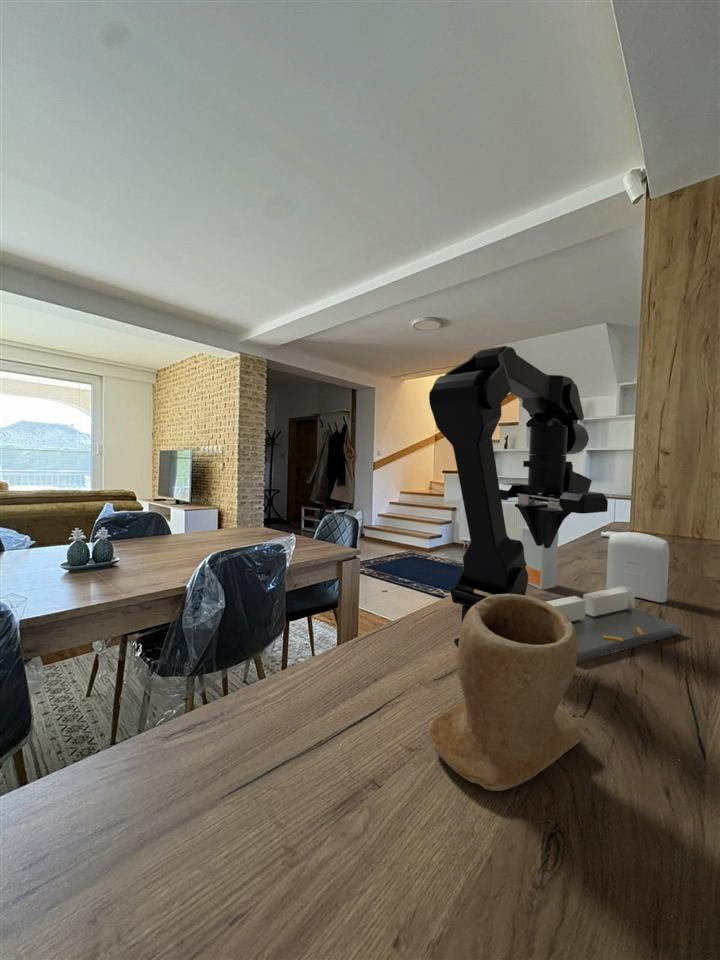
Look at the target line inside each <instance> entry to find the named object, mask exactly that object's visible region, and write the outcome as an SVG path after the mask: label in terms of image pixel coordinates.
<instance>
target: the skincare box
mask: <svg viewBox="0 0 720 960" xmlns="http://www.w3.org/2000/svg"><path fill="white" fill-rule="evenodd" d="M521 542H522V544H523V546H524V557H525V561H526V563H527V566H525V568H526V571H527V573H528V584H527V585H530V586H532V587H534V588H537V589H539V590H543V591H544V590H548V589H552V588H556V586H557V583H556V582H557V568H558V565H557V564H558V563H557V562H558V548H559V547H558V546H559V545H558V544H559V531H558V532H557V534H556V536H555V538H554V541H553V543H552V545H551V547H550V548H544V545H542V546H537V545H536V543H535V541H534V539H533V537H532V534H531V532H530V530H529V528H528V526H527V525H526V526H522V527H521Z"/></svg>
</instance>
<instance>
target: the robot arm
mask: <svg viewBox="0 0 720 960" xmlns="http://www.w3.org/2000/svg"><path fill="white" fill-rule="evenodd" d="M509 394H511V395H513V396H515V397H517V398H519V399H521V407H522V409H524V410H525V411H527V413H528V415H529V417H530V418H529V419H528V420H527V422H526V424H525V426H526V427H527V428H529V447H528V448H529V450H528V454H529V455H528V456H529V457H528V460H523V461H522V462H523V463H522V466H523V467H524V468H528V470H527V471H528V473H527V475H528V477H527V483H521V482H510V483H499V477H498V471H497V464H496V457H495V452H494V451H495V450H494V445H493V435H494V433H495V431H496V429H497V427H498V424H499V422H500V420H501V418H502V402H503V401H505V399H506V398H507V397H508V395H509ZM428 400H429V406H430V410H431V413H432V416H433V419H434V422H435V425H436V428H437V430H438V431H439V432H440V433H441V434H442V435H443V437H444V438H446V440H447V441H448V442H449V443H450V444H451V446H452V449H453V454H454V459H455V464H456V465H455V466H456V470H457V474H458V476H457V477H458V481H459V486H460V490H461V491H460V492H461V495H462V502H463V507H464V513H465V517H466V522H467V529H468V533H469V539H470V540H469V541H470V542H469V544H468V546H467V548H466V550H465V552H464V554H463V556H462V568H461V570H460V572H459V574H458V576H457V578H456V579H455V582H454V583H453V585H452V588H451V589H450V595H451V601H452V603H453V604H458V605H462V606H461V623H462V622H463V619H464V617H465V615H466V614H467V612H468V610H469V609H470V608H471V607H472V606H473V605H475V604H476V603H478V602H479V601H481V600H483V599H484V598H486V597H489V596H487V595H484V594H480V593H477V592H475V590H476V591H479V592H483V593H486V594H490V595H491V596H492V595H496V594H518V595H525V596H526V593H527V589H528V585H529V584H528V573H527V571H526V568H525V566H527V563H526V561H525V557H524V546H523V544H522V540H518V539H513V538H510V537H509V536H508V533H507V530H506V529H507V528H506V521H505V516H504V509H503V503H502V501H508V500H509V499H512V498H518V499H517V501H518V502H517V503H514V507H515V508H517V509H518V510H519V512H520V514H521V516H522V517H523V519H524V521H525V523H526V526H528V528H529V530H530V532H531V534H532V537H533V539H534V541H535V543H536V545H537V546H542V545H544V548H550V547H551V545H552V543H553V541H554V538H555V536H556V534H557V532H559V530H560V527H561V526H562V524H563V522H564V520H565V519H566V518H567V517H568V516H570V514H572V513H573V514H582V515H583V514H584V515H585V514H593V513H595V514H596V513H605V512H608V504H609V500H608V498H607V496H606V495H605V493H602V492H596V491H595V492H594V491H590V487H591V484H592V481H593V480H592V478H588V477H586V476H585V475H583V474H581V473H578V472H575V471H574V469H573V467H574V466H573V463H572V461H567V455H576V454H579V453H580V452H582V451H584V450H585V449H586V447H587V445H588V444H589V440H590V439H589V437H590V436H589V433H588V431H587V429H586V428H585V427H584V426H583V425H581V424H580V423H578V421H584V420H585V417H584V411H583V407H582V402H581V397H580V393H579V387H578V385H577V384H576V383H575V381H574V380H573V379H572V378H571V377H569V376H565V375H562V374H561V375H559V374H546V373H545V372H543V371H542V370H540V369H539V368H537V367H536V366H534V365H533V364H531V363H530V362H528V361H527V360H525V358H522V357H521V356H519V355H518V354H517V352H516V349H514V347H512V346H507V345H503V346H497V347H491V348H486V349H481V350H479V351H477V352H476V353H474V354H473V355H472V356H470V358H469V359H468V360H467V361H464V362H462V363H460V365H458V366H456V367H455V368H453V369H451V370H448V371H447V372H445V374H444V375H441V376H439V377H437V378H436V380H435V381H434V383H433V386H432V387H431V389H430V391H429V393H428ZM523 467H522V468H523ZM453 642H454V645H456V646H458V644H459V637H457V638H454V640H453Z"/></svg>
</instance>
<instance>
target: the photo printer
mask: <svg viewBox="0 0 720 960" xmlns="http://www.w3.org/2000/svg"><path fill="white" fill-rule="evenodd" d="M669 563H670V549H669V542H668V541H667V540H665V539H664V538H660V537H658V536H654V535H651V534H647V533H642V532H633V531H623V532H615V533H612V534H610V536H609V538H608V542H607V561H606V565H607V566H606V583H605V584H606V587H605V589H606V590H608V589H613V588H617V587H623V586H624V587H628V588H631V589H633V590H635V598H638V599H639V598H640V599H643V600H647V601H651V602H656V603H660V604H661V603H666V602H667V601H668V599H667V598H668V586H669V585H668V583H669V582H668V581H669V565H670V564H669Z"/></svg>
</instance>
